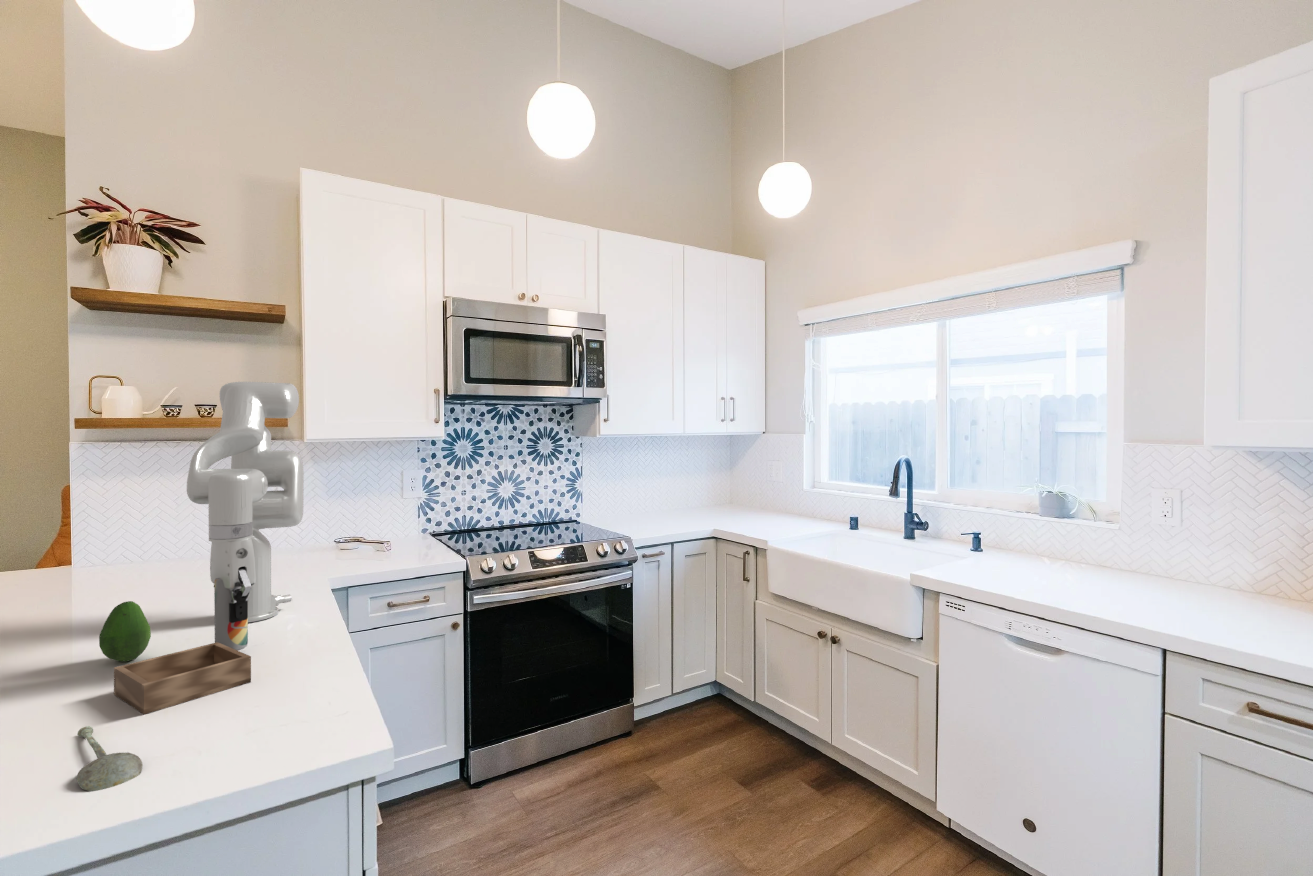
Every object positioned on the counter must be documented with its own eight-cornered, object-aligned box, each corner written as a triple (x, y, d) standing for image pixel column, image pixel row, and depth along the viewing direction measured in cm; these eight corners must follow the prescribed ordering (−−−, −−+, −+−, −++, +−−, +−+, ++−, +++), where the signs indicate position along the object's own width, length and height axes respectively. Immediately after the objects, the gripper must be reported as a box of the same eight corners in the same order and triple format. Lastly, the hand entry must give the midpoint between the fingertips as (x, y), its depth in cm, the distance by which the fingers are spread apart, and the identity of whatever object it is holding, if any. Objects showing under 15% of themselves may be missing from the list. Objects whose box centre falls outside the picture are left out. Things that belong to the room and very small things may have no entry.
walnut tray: (217, 666, 122) (217, 642, 122) (250, 682, 115) (250, 656, 114) (113, 694, 109) (113, 667, 109) (144, 714, 101) (143, 685, 101)
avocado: (143, 651, 131) (143, 594, 131) (156, 659, 126) (156, 600, 126) (93, 662, 124) (93, 603, 124) (105, 671, 120) (105, 609, 119)
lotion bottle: (253, 646, 130) (253, 551, 129) (225, 655, 125) (225, 557, 124) (237, 641, 132) (236, 549, 132) (208, 650, 127) (208, 554, 126)
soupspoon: (80, 807, 78) (146, 786, 83) (82, 780, 78) (148, 761, 83) (56, 744, 92) (114, 729, 97) (57, 721, 92) (115, 708, 97)
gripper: (270, 533, 126) (270, 621, 127) (232, 525, 136) (232, 606, 136) (229, 539, 120) (229, 631, 120) (192, 529, 129) (192, 615, 130)
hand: (231, 617), depth 128 cm, fingers closed on lotion bottle, 5 cm apart
